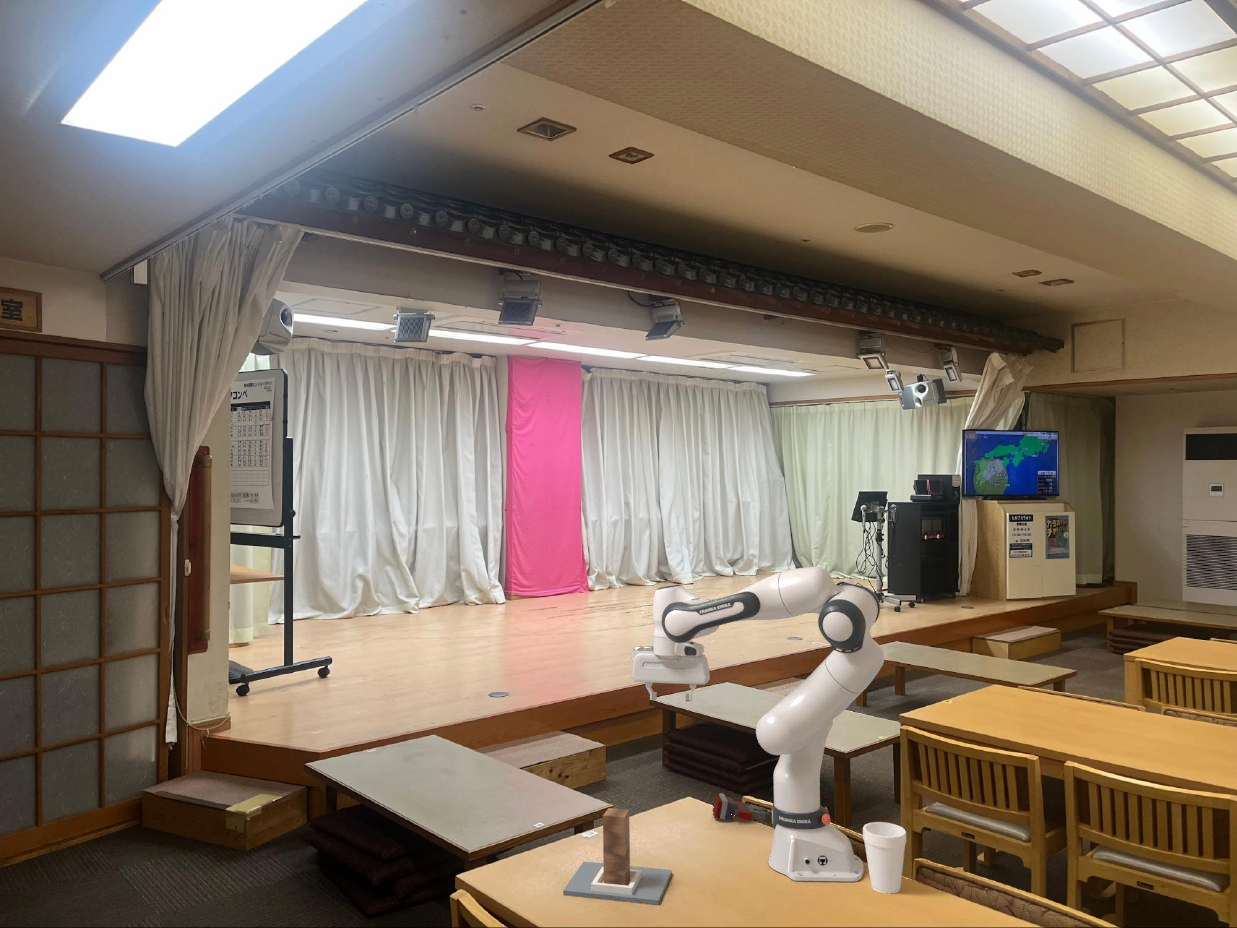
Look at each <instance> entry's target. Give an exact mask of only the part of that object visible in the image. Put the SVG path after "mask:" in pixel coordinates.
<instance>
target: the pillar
mask: <svg viewBox="0 0 1237 928" xmlns="http://www.w3.org/2000/svg"><path fill="white" fill-rule="evenodd" d="M630 832H631V831H630V809H625V808H614V807H613V808H612V807H608V808H607V809H606V811H605V812H604V814H603V815H602V843H603V844H602V845H603V846H602V848H603V849H602V850H603V852H602V853H603V854H602V855H603V869H604V883H607V884H616V885H626V886H627V884H628V883H629V881H630V866H631V857H630V855H631V854H630V853H631V847H630V843H631V842H630V839H631V838H630Z"/></svg>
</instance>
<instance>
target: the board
mask: <svg viewBox="0 0 1237 928" xmlns="http://www.w3.org/2000/svg"><path fill="white" fill-rule="evenodd" d="M602 867H603V863H602V862H601V863H600V862H592V861H582V863H581V864H580V865H579V867H578V868H577V870H576V872H574V874H573V876H572V877H571V878H570V880H569V881H568V883H567V884H566V886H565V887H564V889H563V891H562V893H563V896H569V895H571V897H578V896H581V898H588V897H591V898H590V899H597V898H601V900H607V901H608V900H610V901H618V902H625V901H630V902H629V903H635V904H644V903H648V904H647V905H653V906H654V905H656V906H659V905H660V903H659V902H661V900H662V897H663V895H664V893H665V891H666V889H667V887H666V886H668V885H669V881H670V880H669V879H671V877H672V874H673V871H672V869H664V868H655V867H654V868H652V867H643V866H633V865H630V869H632V870H641V879H640V881H639V883H638V885H637V886H636V888H635V890H634V892H633V894H632V895H627V894H618V893H608V892H599V891H591V883H592V882H593V880H594V879H595V877H596V876H597V874H598V873H599V871H600V869H601V868H602ZM665 888H666V889H665Z"/></svg>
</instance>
